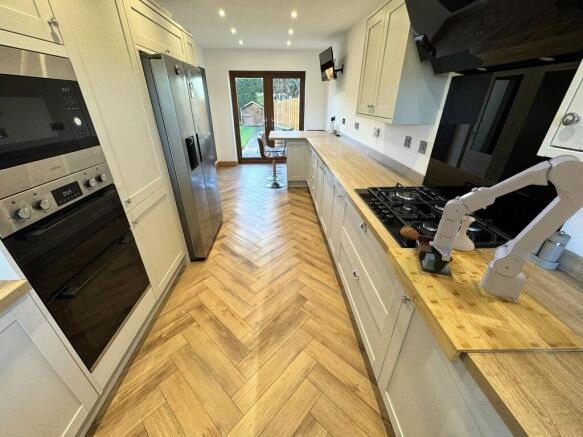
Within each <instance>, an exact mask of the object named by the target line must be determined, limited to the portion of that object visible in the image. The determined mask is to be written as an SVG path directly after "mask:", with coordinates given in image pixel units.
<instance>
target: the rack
mask: <svg viewBox="0 0 583 437" xmlns="http://www.w3.org/2000/svg"><path fill="white" fill-rule="evenodd" d="M434 238H435V236H428V235H423V234H422V235H421V234H420V235H418V238H417V240H416V242H415V246H414V247H415V250H416V254H417V257H418V263H419V267H420V271H421V272H423V273H429V274H434V275H438V276H443V277H448V278H454V276H453V273H452V271H451V268H450V266H449V263H448V264H447V266H448V268H449V273H445V272H439V271H434V270H430V269H424V267H423V263H422V261H423V260H425V257H423V254H426V253H429V254H431V246H430V244H429V242H430V241H431V242H433V241H434Z"/></svg>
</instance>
